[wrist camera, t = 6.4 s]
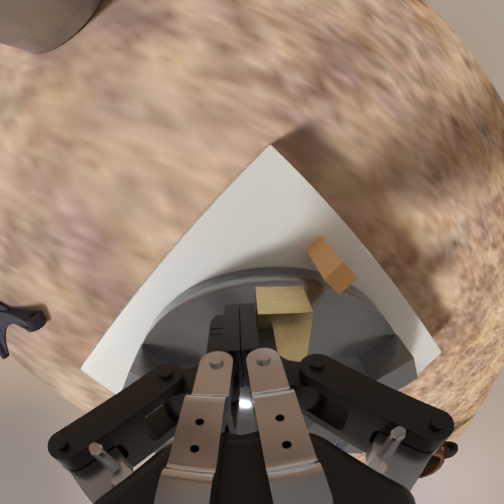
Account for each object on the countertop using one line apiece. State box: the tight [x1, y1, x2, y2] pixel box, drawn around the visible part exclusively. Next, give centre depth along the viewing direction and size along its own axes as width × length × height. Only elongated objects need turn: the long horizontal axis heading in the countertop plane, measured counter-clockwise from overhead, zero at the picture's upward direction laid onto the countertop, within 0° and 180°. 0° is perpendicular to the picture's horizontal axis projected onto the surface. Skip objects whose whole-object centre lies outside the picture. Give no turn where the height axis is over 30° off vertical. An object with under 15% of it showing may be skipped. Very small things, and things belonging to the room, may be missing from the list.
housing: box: [80, 145, 441, 394], centre depth 19 cm, size 24×24×7 cm
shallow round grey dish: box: [122, 267, 417, 454], centre depth 17 cm, size 20×20×5 cm
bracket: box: [0, 303, 46, 359], centre depth 20 cm, size 14×15×3 cm
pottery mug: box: [419, 441, 458, 478], centre depth 32 cm, size 12×10×8 cm
